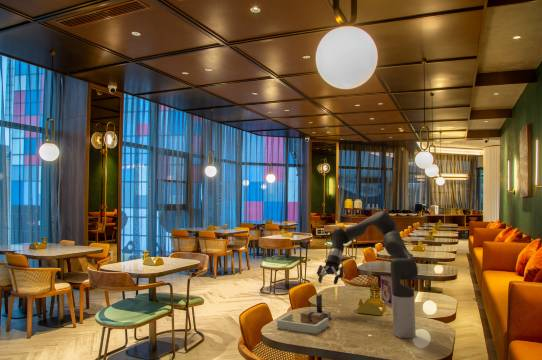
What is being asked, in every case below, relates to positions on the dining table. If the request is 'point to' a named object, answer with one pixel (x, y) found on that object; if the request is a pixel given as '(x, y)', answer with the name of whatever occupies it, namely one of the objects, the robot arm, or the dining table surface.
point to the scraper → (320, 308)
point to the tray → (300, 325)
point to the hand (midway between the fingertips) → (327, 282)
